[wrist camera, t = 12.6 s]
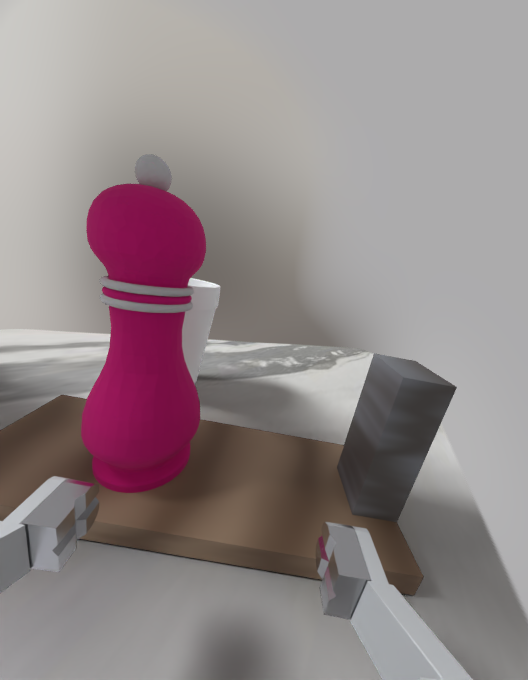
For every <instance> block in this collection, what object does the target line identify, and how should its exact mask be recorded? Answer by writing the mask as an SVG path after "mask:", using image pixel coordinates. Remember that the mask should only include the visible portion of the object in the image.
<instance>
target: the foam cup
mask: <svg viewBox="0 0 528 680" xmlns="http://www.w3.org/2000/svg"><path fill="white" fill-rule="evenodd" d="M188 286H190V287H192V288H193V289H194V293H193V294H192V295H190V296H191V297H192V300H191V302H192V303H193V307H192V309H191V310H188V311H185V317H184V322H183V328H182V349H183V354H184V359H185V362H186V365H187V368H188V370H189V372H190V375H191V377H192V380H193V382H194V384H195V383H196V381H197V377H198V373H199V369H200V366H201V362H202V358H203V354H204V351H205V347H206V343H207V339H208V336H209V331H210V328H211V324H212V320H213V316H214V313H215V309H216V307H218V302H219V295H220V286H219V285H217V284H214V283H210V282H207V281H202V280H198V279H193V278H190V279H189V282H188Z"/></svg>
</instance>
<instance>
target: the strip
mask: <svg viewBox="0 0 528 680" xmlns="http://www.w3.org/2000/svg"><path fill="white" fill-rule="evenodd" d="M455 390H456V387H455V386H454V385H452V384H451V383H449V382H448V381H446V380H444V379H443V378H441V377H440V376H438V375H436V374H435V373H433V372H432V371H430V370H429V369H427V368H426V367H424V366H422V365H421V364H419V363H418V362H416V361H412V360H406V359H401V358H395V357H390V356H385V355H379V354H374V355H373V359H372V362H371V365H370V368H369V371H368V374H367V377H366V380H365V383H364V386H363V389H362V392H361V395H360V398H359V401H358V404H357V407H356V410H355V413H354V417H353V420H352V423H351V426H350V429H349V432H348V435H347V438H346V441H345V444H344V445H340V444H334V443H328V442H323V441H317V440H312V439H306V438H301V437H295V436H289V435H284V434H278V433H273V432H267V431H262V430H256V429H250V428H245V427H239V426H234V425H228V424H223V423H217V422H211V421H206V420H200V422H199V427H198V429H197V432H196V434H195V435H194V437H193V438H192V439H191V441H190V457H189V460H188V463H187V465H186V466H185V468H184V469H183V470H182V471H181V473H180V474H179V475H177V476H176V477H175V478H174V479H172V480H171V481H170V482H168V483H166V484H164V485H162V486H160V487H158V488H155V489H152V490H148V491H144V492H138V493H121V492H116V491H112V490H110V489H107V488H105V487H104V486H102V485H101V484H100V483H99V482H98V481H97V480H96V479H95V477H94V475H93V470H92V460H93V455H92V454H91V453H90V452H89V451H88V449H87V448H86V447H85V446H84V443H83V440H82V437H81V424H82V413H83V410H84V407H85V404H86V401H87V399H83V398H78V397H72V396H67V395H60V396H58V397H57V398H55V399H53V400H52V401H50V402H48V403H47V404H45V405H43V406H41V407H40V408H38V409H36V410H35V411H33V412H31V413H30V414H28V415H26V416H24V417H23V418H21V419H19V420H18V421H16V422H14V423H13V424H11V425H9V426H7V427H6V428H4V429H2V430H1V431H0V521H3V520H4V519H5V518H6V517H8V516H9V515H10V514H11V513H12V512H13V511H14V510H15V509H16V508H17V507H18V506H19V505H21V504H22V503H23V502H24V501H25V500H26V499H27V498H28V497H29V496H30V495H31V494H33V493H34V492H35V491H36V490H37V489H38V488H39V487H40V486H41V485H42V484H43V483H44V482H46V481H47V480H48V479H49V478H51V477H53V476H57V477H63V478H68V479H73V480H78V481H83V482H88V483H93V484H98V485H99V493H98V494H97V495H96V498H97V499H98V501H99V511H98V515H97V517H96V519H95V521H94V523H93V525H92V526H91V528H90V529H89V531H88V532H87V534H85V535H84V536H82V537H81V538H79V539H84V540H90V541H96V542H102V543H108V544H114V545H120V546H126V547H132V548H138V549H143V550H149V551H155V552H161V553H167V554H173V555H179V556H185V557H191V558H197V559H202V560H208V561H214V562H220V563H226V564H232V565H238V566H244V567H250V568H256V569H261V570H267V571H273V572H279V573H285V574H291V575H297V576H303V577H309V578H315V579H320V580H322V578H321V576H320V575H319V573H318V572H317V566H316V555H315V554H316V544H317V541H318V538H319V537H321V536H322V531H321V528H322V525H323V523H324V522H330V523H337V524H344V525H350V526H354V527H360V528H366V529H367V530H368V531H369V533H370V536H371V538H372V541H373V544H374V546H375V549H376V552H377V554H378V557H379V559H380V562H381V565H382V567H383V570H384V573H385V575H386V578H387V580H388V583H389V584H391V585H394V586H395V588H396V589H397V590H398V591H399V592H400V593H403V594H409V595H414V594H415V593H416V591H417V589H418V587H419V585H420V583H421V581H422V579H423V575H422V573H421V571H420V569H419V567H418V565H417V563H416V561H415V559H414V557H413V555H412V552H411V550H410V548H409V546H408V544H407V542H406V540H405V538H404V536H403V534H402V532H401V530H400V528H399V526H398V524H397V520H398V518H399V516H400V514H401V511H402V509H403V507H404V505H405V502H406V500H407V498H408V496H409V493H410V491H411V489H412V487H413V484H414V482H415V480H416V478H417V475H418V473H419V471H420V469H421V466H422V464H423V462H424V460H425V457H426V455H427V453H428V451H429V448H430V446H431V444H432V442H433V440H434V437H435V435H436V433H437V431H438V428H439V426H440V424H441V422H442V419H443V417H444V415H445V412H446V410H447V408H448V406H449V404H450V401H451V399H452V397H453V395H454V392H455Z"/></svg>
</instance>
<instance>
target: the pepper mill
mask: <svg viewBox="0 0 528 680" xmlns="http://www.w3.org/2000/svg"><path fill="white" fill-rule="evenodd" d="M135 174H136V178H137V180H138V182H139V183H140V184H123V185H116V186H113V187H110V188H108V189H106V190H104V191H102V192H101V193H100V194H99V195H98V196H97V197H96V198H95V199H94V201H93V203H92V205H91V207H90V209H89V212H88V217H87V237H88V242H89V245H90V248H91V249H92V251H93V252H94V254H95V255H96V256H97V257H98V258H99V260H100V261H101V262H102V263H103V264H104V266H105V267H106V269H107V272H108V276H104V277H102V278H101V279H100V284H101V285H103V286H104V287H103V289H102V291H103V294H101V296H100V300H101V301H102V302H103V303H105V304H106V305H109V310H110V320H111V337H110V348H109V352H108V355H107V359H106V363H105V365H104V367H103V369H102V371H101V373H100V376H99V377H98V379H97V381H96V382H95V384H94V386H93V388H92V390H91V392H90V394H89V396H88V398H87V401H86V404H85V407H84V410H83V413H82V424H81V437H82V440H83V443H84V446H85V447H86V448H87V449H88V451H89V452H90V453H91V454H92V455H93V460H92V470H93V475H94V477H95V479H96V480H97V481H98V482H99V483H100V484H101V485H102V486H104V487H105V488H107V489H110V490H112V491H116V492H121V493H138V492H144V491H148V490H152V489H155V488H158V487H160V486H162V485H164V484H166V483H168V482H170V481H171V480H172V479H174V478H175V477H176V476H177V475H179V474H180V473H181V471H182V470H183V469H184V468H185V466H186V465H187V463H188V460H189V457H190V441H191V439H192V438H193V437H194V435H195V434H196V432H197V429H198V427H199V422H200V402H199V398H198V393H197V390H196V387H195V384H194V382H193V380H192V377H191V375H190V372H189V370H188V368H187V365H186V362H185V359H184V354H183V349H182V328H183V322H184V317H185V311H188V310H191V309H192V307H193V303H192V302H191V300H192V297H191V296H190V295H192V294H193V293H194V289H193V288H192V287H190V286H188V282H189V279H190V278H191V277H192V275H194V274H195V273H196V272H197V271H198V270H199V268H200V267H201V265H202V263H203V261H204V257H205V253H206V240H205V234H204V230H203V227H202V224H201V222H200V220H199V218H198V217H197V215H196V214H195V212H194V211H193V210H192V209H191V208H190V207H189V206H188V205H187V204H186V203H185V202H184V201H182V200H181V199H179V198H178V197H176V196H175V195H173V194H171V193H169V192H167V190H168V189H169V187H170V185H171V180H172V179H171V178H172V177H171V172H170V169H169V167H168V166H167V164H166V163H165V162H164V161H163V160H162V159H161V158H160V157H158V156H155V155H152V154H151V155H143V156H141V157H140V158H139V159H138V161H137V162H136V166H135Z"/></svg>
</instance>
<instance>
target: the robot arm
mask: <svg viewBox="0 0 528 680" xmlns="http://www.w3.org/2000/svg"><path fill="white" fill-rule="evenodd" d="M98 493H99V485H98V484H93V483H88V482H83V481H78V480H73V479H68V478H63V477H57V476H53V477H51V478H49V479H48V480H47V481H46V482H44V483H43V484H42V485H41V486H40V487H39V488H38V489H37V490H36V491H35V492H34V493H33V494H31V495H30V496H29V497H28V498H27V499H26V500H25V501H24V502H23V503H22V504H21V505H19V506H18V507H17V508H16V509H15V510H14V511H13V512H12V513H11V514H10V515H9V516H8V517H6V518H5V519H4V520H3V521H0V593H1V592H3V591H4V590H5V589H7V588H8V587H9V586H11V585H12V584H13V583H15V582H16V581H17V580H19V579H20V578H21V577H23V576H24V575H25V574H27V573H28V572H29V571H30V569H37V570H45V571H54V572H60V570H61V569H62V568H63V566H64V565H65V563H66V562H67V561H68V559H69V558H70V556H71V555H72V554H73V552H74V551H75V549H76V543H77V540H78V539H79V538H81V537H82V536H84V535H85V534H87V532H88V531H89V529H90V528H91V526H92V525H93V523H94V521H95V519H96V517H97V515H98V511H99V501H98V499H97V498H96V495H97V494H98ZM321 531H322V536H321V537H319V538H318V541H317V544H316V554H315V555H316V566H317V572H318V573H319V575H320V576H321V578H322V583H321V585H320V593H321V599H322V606H323V612H324V615H328V616H334V617H339V618H344V619H349V620H351V621H350V622H351V624H352V626H353V628H354V629H355V631H356V633H357V635H358V637H359V638H360V640H361V642H362V644H363V646H364V647H365V649H366V651H367V653H368V655H369V656H370V658H371V660H372V662H373V664H374V665H375V667H376V669H377V671H378V673H379V674H380V676H381V678H382V680H473V679H472V678H471V677H470V675H469V674H468V673H467V672H466V671H465V670H464V668H463V667H462V666H461V665H460V664H459V662H458V661H457V660H456V659H455V658H454V656H453V655H452V654H451V653H450V652H449V650H448V649H447V648H446V647H445V646H444V645H443V643H442V642H441V641H440V640H439V639H438V637H437V636H436V635H435V634H434V633H433V631H432V630H431V629H430V628H429V627H428V626H427V624H426V623H425V622H424V621H423V620H422V618H421V617H420V616H419V615H418V614H417V612H416V611H415V610H414V609H413V608H412V607H411V605H410V604H409V603H408V602H407V601H406V599H405V598H404V597H403V596H402V595H401V593H400V592H399V591H398V590H397V589H396V588H395V586H394V585H391V584H389V583H388V580H387V578H386V575H385V573H384V570H383V567H382V565H381V562H380V559H379V557H378V554H377V552H376V549H375V546H374V544H373V541H372V538H371V536H370V533H369V531H368V530H367V529H366V528H360V527H354V526H350V525H344V524H337V523H330V522H324V523H323V525H322V528H321Z"/></svg>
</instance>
